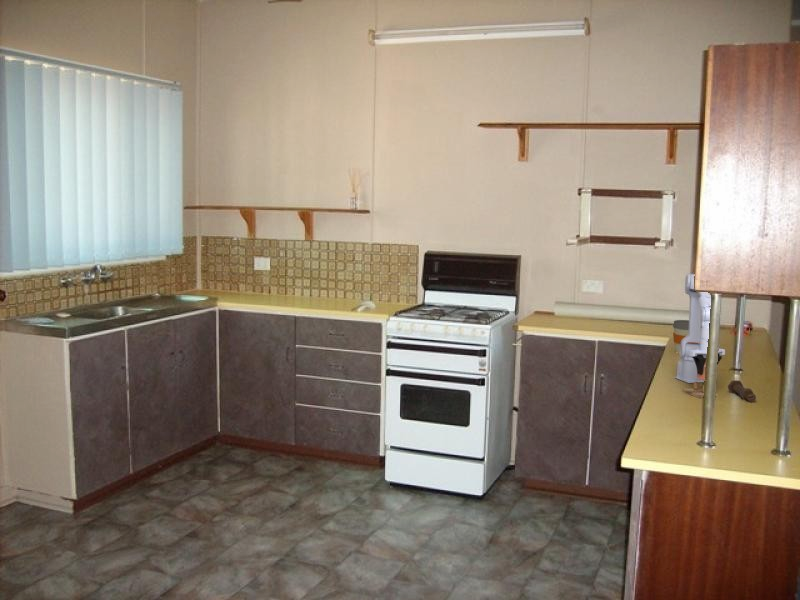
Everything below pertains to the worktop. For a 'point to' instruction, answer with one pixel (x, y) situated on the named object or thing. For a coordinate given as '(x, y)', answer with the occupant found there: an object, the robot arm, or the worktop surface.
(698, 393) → the stub block
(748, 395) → the bolt
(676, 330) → the reusable coffee cup
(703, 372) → the salmon cube
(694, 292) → the robot arm
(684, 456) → the worktop surface
